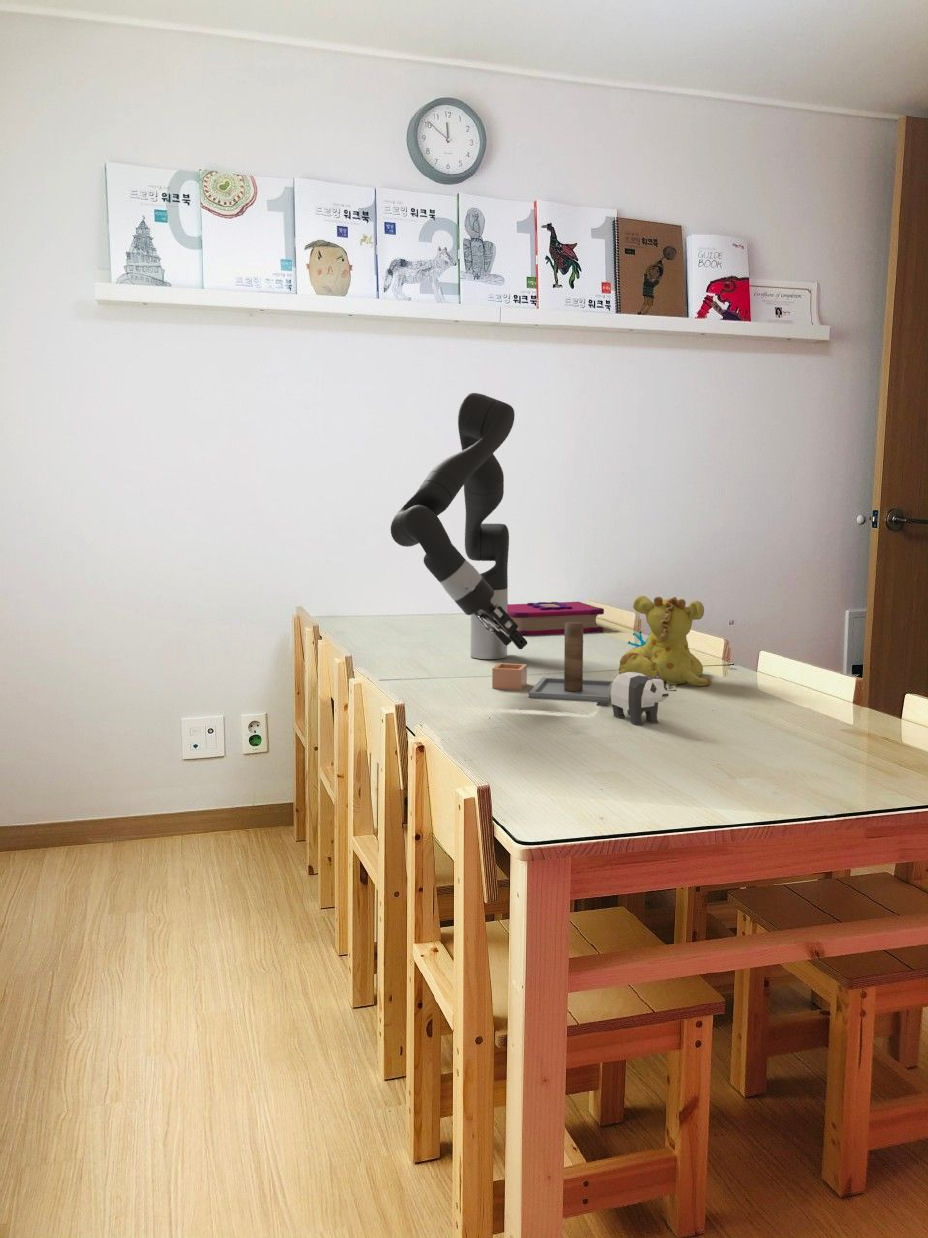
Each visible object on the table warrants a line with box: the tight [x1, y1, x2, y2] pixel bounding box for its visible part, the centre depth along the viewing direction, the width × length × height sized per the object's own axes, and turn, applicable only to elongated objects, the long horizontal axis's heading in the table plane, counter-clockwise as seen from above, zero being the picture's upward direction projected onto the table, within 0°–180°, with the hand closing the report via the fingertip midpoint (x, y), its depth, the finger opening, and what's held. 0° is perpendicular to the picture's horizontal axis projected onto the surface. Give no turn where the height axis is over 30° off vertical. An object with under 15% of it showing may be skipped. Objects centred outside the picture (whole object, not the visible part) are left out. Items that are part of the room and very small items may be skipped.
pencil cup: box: [491, 662, 528, 691], centre depth 216 cm, size 6×6×5 cm
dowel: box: [563, 622, 584, 692], centre depth 210 cm, size 4×4×14 cm
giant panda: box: [610, 672, 669, 726], centre depth 188 cm, size 15×6×10 cm, turn 25°
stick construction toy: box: [627, 631, 651, 649], centre depth 254 cm, size 12×7×8 cm
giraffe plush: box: [618, 595, 712, 692], centre depth 225 cm, size 20×24×19 cm
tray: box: [528, 676, 614, 707], centre depth 211 cm, size 16×16×2 cm
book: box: [507, 601, 605, 637], centre depth 300 cm, size 21×28×8 cm
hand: (516, 644), depth 210 cm, fingers open, 8 cm apart
